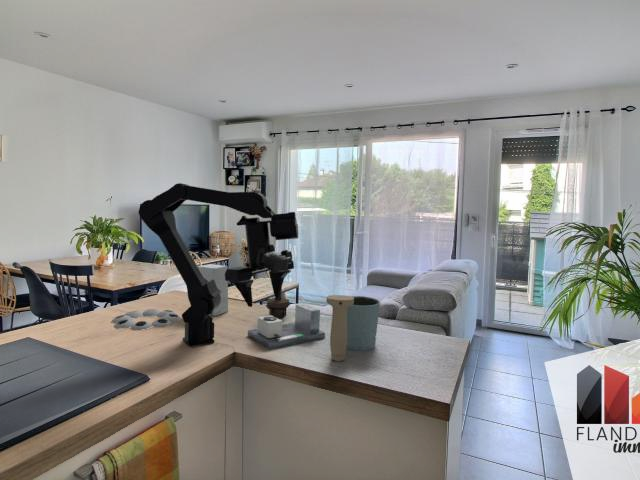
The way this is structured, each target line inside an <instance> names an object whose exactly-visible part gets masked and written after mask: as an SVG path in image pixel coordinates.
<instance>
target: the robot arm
mask: <svg viewBox="0 0 640 480" xmlns="http://www.w3.org/2000/svg"><path fill="white" fill-rule="evenodd" d="M186 201H192V202H198V203H204V204H210V205H217V206H222V207H227V208H230V209H233V210H235V211H237V212H240V213H243V214H246V215H248V216H259V217H260V218H261V219H270V220H260V218H259V217H247V216H246V215H242V216H241V218H240V219H239V220H238V221H237V222H236V226H245V235H246V236H245V237H246V246H244V247H243V249H244V252H247V255H248V257H247V258H248V262H245V266H236V267H230V268H228V269H227V270H226V272H225V281H228V282H229V283H230V284H233V285H234V286H235V287H236V289H237V291H239V294H241V296H242V298H243V300H244V301H245V303H246V305H247V306H248V307H249V308H251V307H253V295H252V294H253V292H252V285H253V283H254V281H255V280H254V279H252V277H253V275H257V274H260V273H261V274H262V273H265V272H268V274H269V278H270V282H271V287H272V291H273V295H274V298H279V296H280V292H281V288H283V284H284V280H285V278H286V276H287V275H288V274H290V273H291V272H292V269H295V266H294V265H295V264H294V263H295V262H294V261H293V254H292V251H291V250H290V249H283V250H281V251H276V249H275V246H274V244H271V241H270V237H273V238H275V240H276V241H283V240H295V239H299V225H298V222H297V217H296V211H289V212H285V213H275V212H274V210H272V208H270V206H269V205H268V201H267V198H266V197H265V195H264V194H262V193H259V192H256V191H237V192H236V191H232V192H231V191H230V192H229V191H222V190H219V189H218V190H217V189H213V188H211V189H210V188H205V187H200V186H199V187H198V186H192V185H189V184H186V183H181V182H180V183H179V182H178V183H175V184H174V185H173V186H172V187H170V188H169V189H166V190H165V191H163V192H161V193H160V194H157V195H156V196H155V197H153V198H152V199H146V200H144V201H143V202H141V204H140V206H139V208H138V215H139V218H140V219H141V221H142V222H143V223H144V224H145V226H146V227H148V229H150V231H152V232H153V233H154V234H155V235H157V237H158V238H159V240H160V241H161V243H162V244H163V247H164V248H165V250H166V252H167V254H168V256H169V257H170V259H171V261H172V262H173V264H174V266H175V269H177V271H178V272H179V274H180V276H181V279H182V280H183V283H184V284H185V285H186V293H187V298H188V302H189V305H190V306H189V307H188V308H187V309H186V310H185V311H184V312H183V313H182V314H181V317H182V318H181V319H182V320H183V322H184V337H182V341H183V342H184V343H185V344H186V345H187V346H188V347H197V346H201V345H203V346H204V345H208V344H214V343H215V323H214V322H213V317H212V315H211V314H212V313H213V311H214V310H215V309H216V308H217V307H218V306H219V304H220V301H221V296H220V293H221V291H220V290H219V289H218V288H217V286H216V283H215V281H214V280H211V281H207V280H206V279H205V278H204V277H203V276H202V274H201V272H200V271H199V269H198V267H197V266H198V265H197V263H196V261H195V260H194V258H193V257H192V254H191V252H190V251H189V249H188V247H187V246H186V244H185V242H184V240H183V238H182V237H181V234H180V233H179V230H177V226H176V225H177V224H176V217H175V215H174V212H175V211H176V210H178V208H180V207H181V206H182V205H183V204H184V202H186ZM270 235H271V236H270Z"/></svg>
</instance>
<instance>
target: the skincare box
mask: <svg viewBox="0 0 640 480" xmlns="http://www.w3.org/2000/svg"><path fill="white" fill-rule="evenodd" d="M197 267H198V269H199V271H200V272H201V274H202V276H203V277H204V278H205V279H206V280H207V281H211V280H214V281H215V283H216V286H217V288H218V289H219V290H220V291H221V293H220V296H221V301H220V304H219V306H218V307H217V308H216V309H215V310H214V311H213V313H212V314H211V315H210V316H215V317H216V316H218V315H223V314H226V313H228V312H229V286H228V285H229V281H225V272H226V270H227V269H229V268H228V265H220V264H213V263H212V264H211V263H208V264H202V265H197Z"/></svg>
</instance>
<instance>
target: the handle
mask: <svg viewBox="0 0 640 480" xmlns="http://www.w3.org/2000/svg"><path fill="white" fill-rule="evenodd" d="M326 303H327V304H328V305H330V306H331V307H332V316H331V324H330V333H329V334H330V336H329V337H330V338H329V346H330V358H331V360H332V361H335V362H337V363H338V362H342V361H344V360H345V357H346V356H345V355H346V354H345V353H346V351H347V347H346V345H347V308H348V307H349V306H351V305H353V304H354V297H352V296H351V295H340V294H332V295H327V296H326Z"/></svg>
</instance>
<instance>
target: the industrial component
mask: <svg viewBox="0 0 640 480" xmlns="http://www.w3.org/2000/svg"><path fill="white" fill-rule="evenodd" d="M282 288H283V287H282ZM282 288H281V292H280V296H279V298H275V297H273V298H268V299H266V302H267V304H265V307H266V308H267V309H268V311H269V313H268V316H270V315H271V316H273V317H276V318H277V319H279V318H280V319H282V318H285V317H286V316H287V309H288V308H289V306H291V303H290V299H288V298H284V297H282Z"/></svg>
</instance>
